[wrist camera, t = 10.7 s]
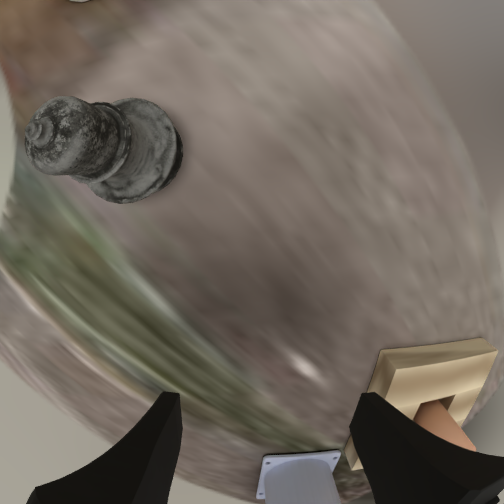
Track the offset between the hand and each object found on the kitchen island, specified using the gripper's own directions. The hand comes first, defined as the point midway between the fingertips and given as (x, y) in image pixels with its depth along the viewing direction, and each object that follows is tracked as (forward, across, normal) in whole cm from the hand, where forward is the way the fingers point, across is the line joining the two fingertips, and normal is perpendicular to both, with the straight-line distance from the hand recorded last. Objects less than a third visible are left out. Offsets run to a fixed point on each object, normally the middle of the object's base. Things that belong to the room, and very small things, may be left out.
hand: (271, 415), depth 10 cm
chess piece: (+11, +8, -10) cm, 17 cm away
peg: (+10, -17, +10) cm, 22 cm away
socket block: (+10, -17, +10) cm, 22 cm away
